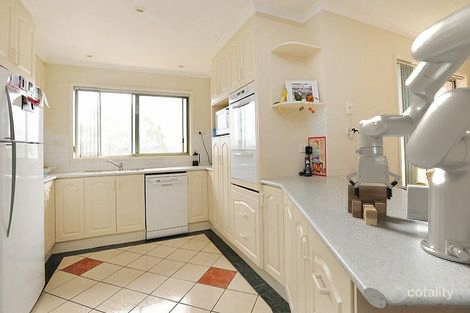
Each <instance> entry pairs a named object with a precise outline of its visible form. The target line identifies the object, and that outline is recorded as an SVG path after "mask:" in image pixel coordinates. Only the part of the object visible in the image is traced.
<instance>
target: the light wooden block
mask: <svg viewBox="0 0 470 313" xmlns="http://www.w3.org/2000/svg"><path fill="white" fill-rule="evenodd" d="M361 218H363V221H364V224H365V225H366V226H367V225H368V226H376V227H377V226H378V219H377V211H376V209H375V207H374V205H373V204H369V203H362V214H361Z"/></svg>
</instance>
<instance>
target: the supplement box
mask: <svg viewBox="0 0 470 313" xmlns="http://www.w3.org/2000/svg"><path fill="white" fill-rule="evenodd" d="M405 203H406V204H405V205H406V210H405V212H406V214H405V216H406V218H407V219H411V220H419V221H424V222H428V205H429V185H421V184H419V185H418V184H406V202H405Z"/></svg>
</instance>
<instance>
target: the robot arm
mask: <svg viewBox="0 0 470 313" xmlns="http://www.w3.org/2000/svg"><path fill="white" fill-rule="evenodd" d="M410 55H411V58H412V59H413V60H414V61H417V62H418V64H417V66H416V67H415V68H414V69H413V71H412V72H411V73H410V75H409V76H408V77H407V78H406V80H405V82H404V87H405V89H406V90H407V91H409V92H410V93H411V94H412V95H413V98H412V102H411V103H410V105H409V106H408V107H407V109H406V110H405V111H404V112H403V113H402V114H396V113H395V114H393V113H392V114H386V113H385V114H378V115H375V116H374V117H371V118H367V119H363V120H360V121H359V124H358V134H359V135H358V137H359V140H358V141H359V149H355V150H354V151H355V154H358V155H359V156H357V158H356V171H354V172H351V173H349V174H347V175H346V176H345V177H346V179H347V181H348V182H349V184H352V185H353V186H354V187H355V196H357V198H360V196H359V187H358V186H359V185H362V184H384V186H386V187H387V188H386V198H387V201H388V200H389V201H390V200H391V198H393V189H394V187H395V186H397V185H398V184H399V182H400V181H401V178H402V177H401V176H400V175H398V174H396V173H393V172H392V171H390V169H389V162H388V158H387V155H384V137H387V138H391V137H395V138H396V137H397V138H398V137H399V138H404V137H407V136H409V135H411V136H409V139H408V142H407V144H406V146H405V156H406V160H407V161H408V162H409V163H410V164H411V165H412V166H413V167H416V168H418V169H423V170H432V172H431V176H430V178H429V183H428V186H429V205H428V221H427V238H425V239H422V240H421V241H419V242H420V245H419V246H420V248H421V249H422V250H424V251H426V252H427V253H428V254H431V255H434V256H435V257H438V258H441V259H444V260H448V261H451V262H456V263H463V264H468V265H470V87H469V86H468V87H456V88H453V89H450V90H447V91H446V92H443V93H442V94H440V95H439V96H437V97H436V95H437V93H438V92H439V91H440V90H441V89H442V87H443V86H444V85H445V84H446V83H447V82H448V81H449V80H450V79H451V78H452V77H453V76H454V75H455V73H457V71H458V70H459V69H460V68H461V67H462V66H463V65H464V63H466V62H467V60H468V59H469V58H470V3H468V4H466V5H464V6H463V7H461V8H459V9H457V10H455V11H454V12H452V13H449V14H448V15H446V16H444V17H443V18H441V19H439V20H437V21H435V22H434V23H433V24H431V25H429V26H428V27H426V28H425V29H424V30H423V31H422V32H420V34H419V35H418V36H416V38H415V39H414V41H413V43H412V45H411V48H410ZM435 97H436V98H435ZM352 177H356V180H357V181H355V182H354V180H352ZM390 177H392V178H394V180H392V182H390V179H391V178H390Z"/></svg>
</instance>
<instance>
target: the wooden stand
mask: <svg viewBox="0 0 470 313" xmlns="http://www.w3.org/2000/svg"><path fill="white" fill-rule="evenodd" d="M358 187H359V196H360V198H357V196H355V187H354V186H353V185H352V184H350V183H349V184H347V213H348V212H350V213H349V214H351V215H352V218H353V217H354V218H360V219H361V218H362V203H369V204H373V205H374V207H375V209H376V211H377V220H379V221H380V220H381V221H386V217H387V212H388V211H387V210H388V209H387V208H388V204H387V203H388V202H387V201H388V199H387V198H386V188H387V186H386V185H371V184H369V185H368V184H367V185H366V184H360V185H359V186H358Z"/></svg>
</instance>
